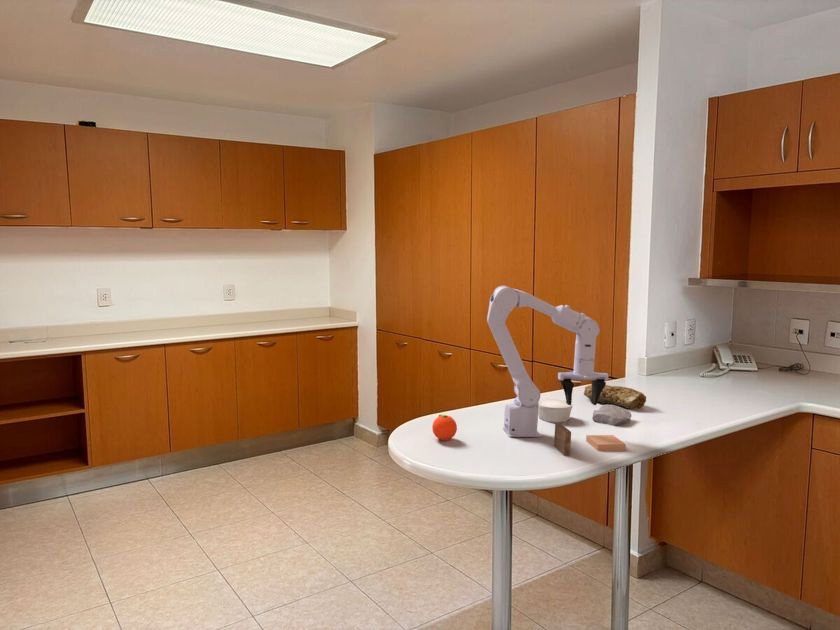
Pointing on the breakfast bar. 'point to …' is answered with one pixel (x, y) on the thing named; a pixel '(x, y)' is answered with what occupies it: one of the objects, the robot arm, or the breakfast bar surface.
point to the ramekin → (554, 410)
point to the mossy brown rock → (619, 396)
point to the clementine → (444, 427)
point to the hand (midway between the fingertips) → (581, 404)
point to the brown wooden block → (562, 439)
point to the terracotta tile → (605, 442)
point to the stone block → (611, 415)
